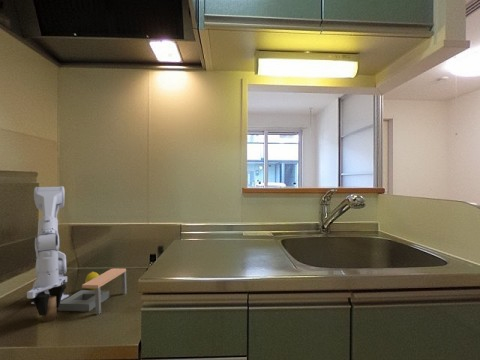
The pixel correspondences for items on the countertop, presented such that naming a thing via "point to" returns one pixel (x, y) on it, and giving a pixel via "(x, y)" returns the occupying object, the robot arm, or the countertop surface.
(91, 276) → the lemon
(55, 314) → the peg
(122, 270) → the orange bridge
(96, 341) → the countertop surface
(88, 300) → the socket
